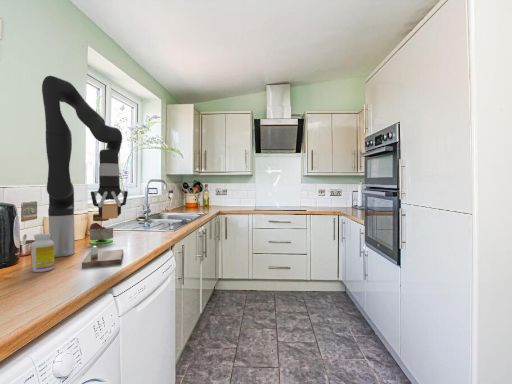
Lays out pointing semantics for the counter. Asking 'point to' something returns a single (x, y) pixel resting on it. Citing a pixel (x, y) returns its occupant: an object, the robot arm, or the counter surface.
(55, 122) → the robot arm
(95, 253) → the post
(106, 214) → the tan wooden cube
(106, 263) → the board
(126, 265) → the counter surface
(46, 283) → the counter surface
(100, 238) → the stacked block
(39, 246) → the supplement bottle
